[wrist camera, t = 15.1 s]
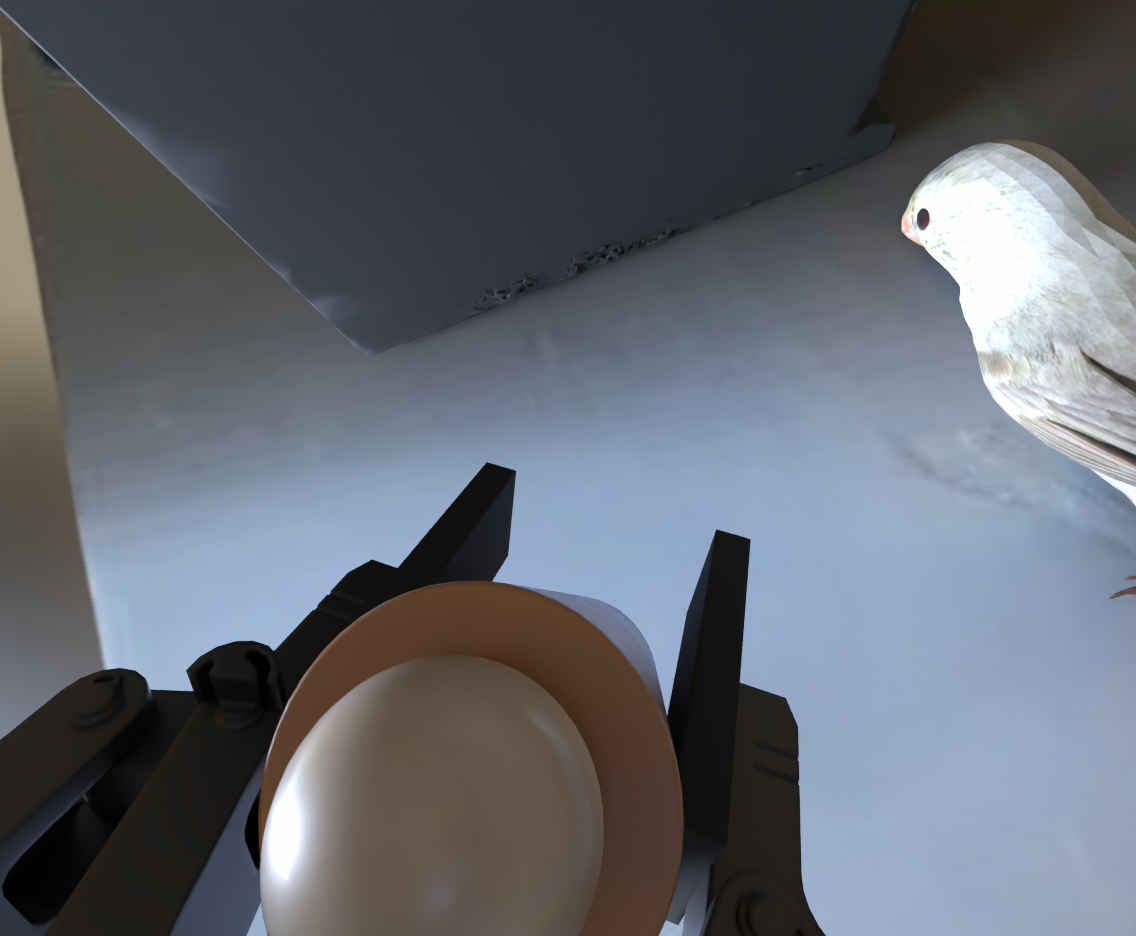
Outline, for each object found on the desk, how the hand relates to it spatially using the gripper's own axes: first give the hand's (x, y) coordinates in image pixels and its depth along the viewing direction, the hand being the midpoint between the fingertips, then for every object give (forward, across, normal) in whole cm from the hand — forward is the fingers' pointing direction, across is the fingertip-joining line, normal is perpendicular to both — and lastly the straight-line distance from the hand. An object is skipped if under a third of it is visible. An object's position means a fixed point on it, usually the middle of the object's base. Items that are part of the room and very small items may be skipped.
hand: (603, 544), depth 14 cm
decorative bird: (+13, -12, -2) cm, 18 cm away
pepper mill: (0, 0, +5) cm, 5 cm away
